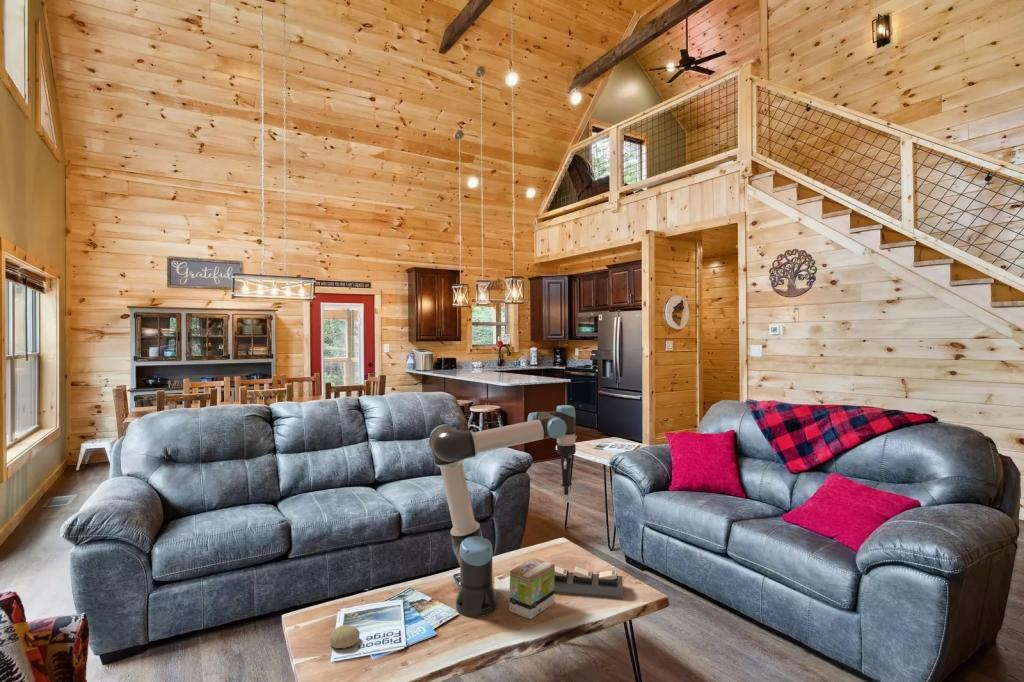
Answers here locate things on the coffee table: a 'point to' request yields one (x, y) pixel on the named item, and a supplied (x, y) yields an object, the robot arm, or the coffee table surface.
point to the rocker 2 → (582, 573)
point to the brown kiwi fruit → (344, 636)
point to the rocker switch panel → (589, 586)
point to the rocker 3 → (608, 575)
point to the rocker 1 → (560, 571)
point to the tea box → (532, 587)
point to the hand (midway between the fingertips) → (566, 501)
